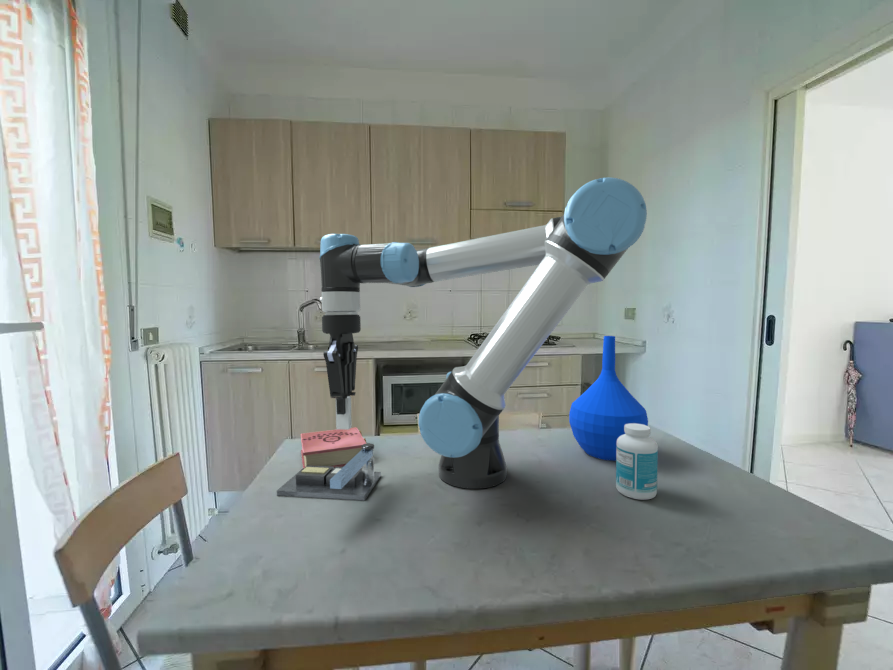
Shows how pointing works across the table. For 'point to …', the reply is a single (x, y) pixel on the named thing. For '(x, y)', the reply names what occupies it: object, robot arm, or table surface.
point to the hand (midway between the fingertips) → (343, 428)
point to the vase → (604, 410)
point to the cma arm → (352, 467)
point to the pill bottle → (636, 462)
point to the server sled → (318, 483)
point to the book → (331, 447)
